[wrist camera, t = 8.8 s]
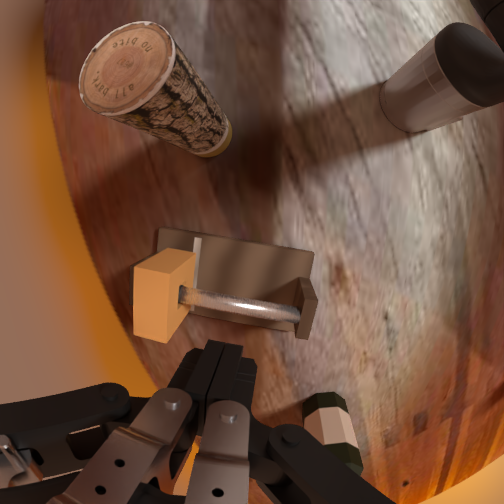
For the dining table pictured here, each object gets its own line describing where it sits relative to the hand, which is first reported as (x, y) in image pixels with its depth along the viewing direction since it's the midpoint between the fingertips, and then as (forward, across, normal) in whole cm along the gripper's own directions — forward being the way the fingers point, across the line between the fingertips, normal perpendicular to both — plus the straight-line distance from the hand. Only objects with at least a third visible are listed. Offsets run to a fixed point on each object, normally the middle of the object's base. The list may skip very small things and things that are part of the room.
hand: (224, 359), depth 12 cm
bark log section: (+29, +10, -14) cm, 34 cm away
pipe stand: (+29, +4, +6) cm, 30 cm away
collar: (+25, +10, +6) cm, 27 cm away
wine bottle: (+29, -15, +29) cm, 44 cm away
